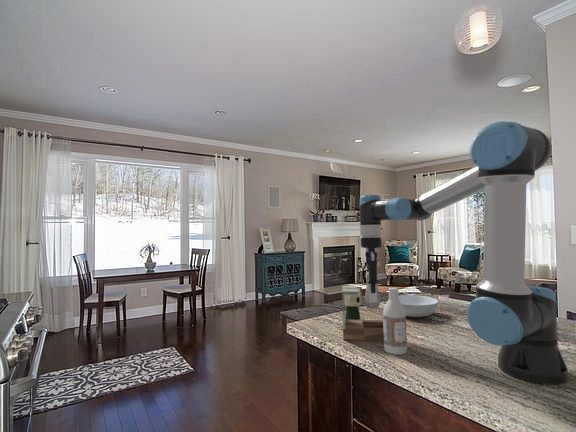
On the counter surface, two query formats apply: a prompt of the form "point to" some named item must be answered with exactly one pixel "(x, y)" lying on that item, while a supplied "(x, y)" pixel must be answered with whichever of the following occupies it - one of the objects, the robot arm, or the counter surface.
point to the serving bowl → (418, 305)
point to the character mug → (353, 306)
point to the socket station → (360, 323)
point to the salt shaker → (368, 304)
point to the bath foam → (394, 325)
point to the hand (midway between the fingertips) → (372, 299)
